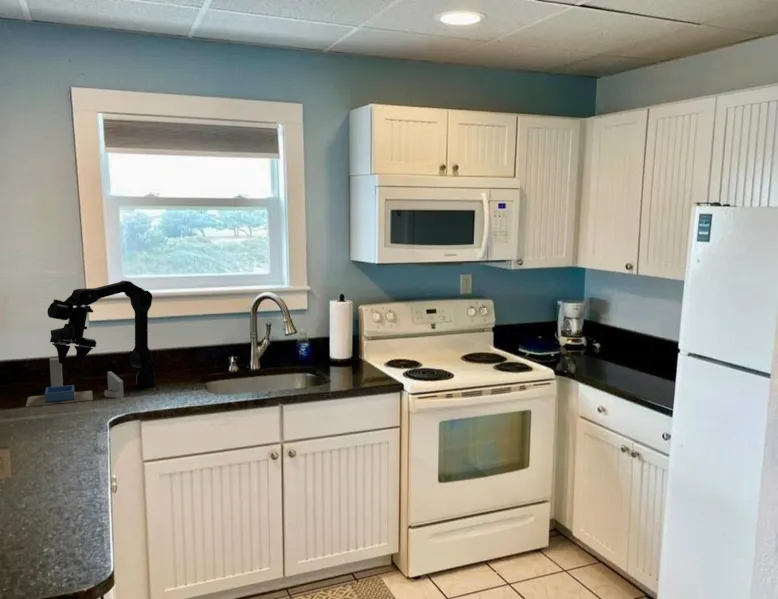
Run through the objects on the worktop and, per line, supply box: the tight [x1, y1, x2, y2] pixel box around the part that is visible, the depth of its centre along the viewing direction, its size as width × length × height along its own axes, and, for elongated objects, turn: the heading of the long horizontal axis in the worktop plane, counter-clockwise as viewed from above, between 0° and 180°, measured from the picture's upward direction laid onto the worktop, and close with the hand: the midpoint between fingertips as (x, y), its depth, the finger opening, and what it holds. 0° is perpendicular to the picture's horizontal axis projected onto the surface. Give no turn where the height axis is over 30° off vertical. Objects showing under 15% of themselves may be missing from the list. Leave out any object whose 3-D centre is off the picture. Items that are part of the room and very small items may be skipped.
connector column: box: [49, 357, 64, 387], centre depth 256 cm, size 4×4×13 cm
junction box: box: [44, 384, 76, 403], centre depth 242 cm, size 10×10×4 cm
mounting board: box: [25, 390, 94, 408], centre depth 242 cm, size 22×14×1 cm, turn 116°
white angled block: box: [104, 370, 125, 400], centre depth 246 cm, size 4×10×9 cm, turn 68°
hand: (68, 364), depth 235 cm, fingers open, 9 cm apart
